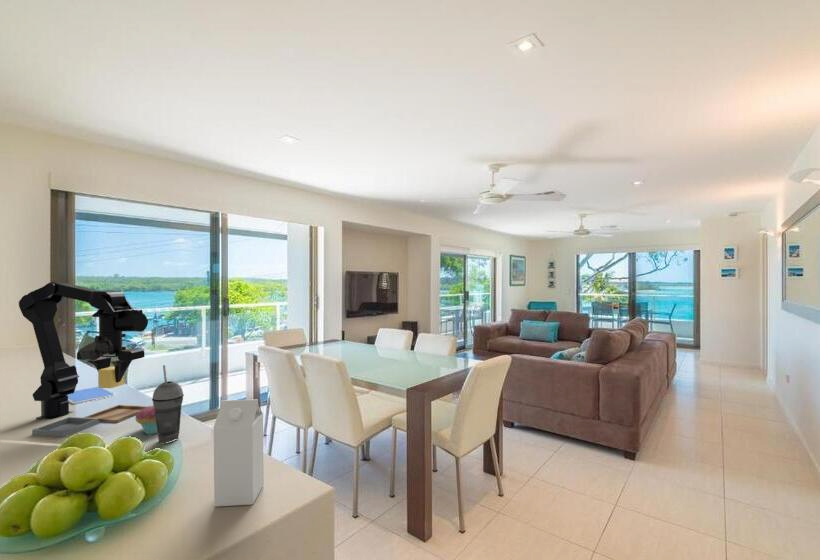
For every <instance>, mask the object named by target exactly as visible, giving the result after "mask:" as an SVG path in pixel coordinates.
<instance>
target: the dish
mask: <svg viewBox="0 0 820 560" xmlns="http://www.w3.org/2000/svg"><path fill="white" fill-rule="evenodd" d="M99 424H100V422H99V419H97V418H83V417H81V416H80V417H79V416H68V417H65V418H63V419H59V420H56V421H54V422H51V423H49V424H48V423H47V424H45V425H43V426H42V425H41V426H39V427H36V428H34V429H32V431H31V436H41V437H51V438H52V437H53V438H65V437H68V436H71V435H73V434H75V433H78V432H81V431H83V430H86V429H89V428H91V427H94V426H96V425H99Z"/></svg>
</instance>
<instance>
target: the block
mask: <svg viewBox="0 0 820 560" xmlns="http://www.w3.org/2000/svg"><path fill="white" fill-rule="evenodd" d="M97 372H98V373H97V374H98V375H97V377H98V378H97V381H98V386H97V387H98V388H103V389H113V388H117V387H120V386H124V385H125V374H124V375H123V377H122V379H121V381H120V382H116V379H115V366H110V367H108V368H104V369H99V370H98V371H97Z"/></svg>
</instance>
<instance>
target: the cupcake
mask: <svg viewBox="0 0 820 560" xmlns="http://www.w3.org/2000/svg"><path fill="white" fill-rule="evenodd" d="M149 406H150V407H146V408H144V409H142V410H141V411H140V412H139V413H138V414H137V415H136V416H134V417H135V421H136V423H138V424H140V425H141V427H142V430H143V432H144V434H145V435H155V434H158V433H157V424H156V416H155V408H154V405H149Z"/></svg>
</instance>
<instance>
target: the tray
mask: <svg viewBox="0 0 820 560" xmlns="http://www.w3.org/2000/svg"><path fill="white" fill-rule="evenodd" d="M150 406H151V405H148V406H147V405H132V404H131V405H129V404H127V405H125V404H117V405H115V406H113V407H108V408H106V409H103V410H101V411H97V412H95V413H92V414H90V415H87V416H84V417H82V418H97V419H99V423H114V424H115V423H116V424H118V423H122V422H124V421H126V420H128V419H130V418H133V417H136V415H137V414H138V413H139V412H140V411H141V410H142V409H144V408H146V407H150Z"/></svg>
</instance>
